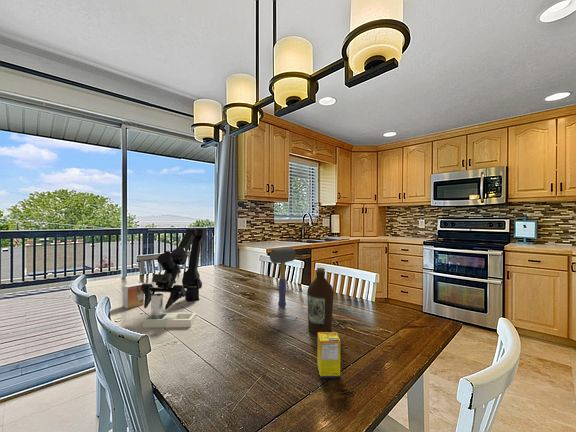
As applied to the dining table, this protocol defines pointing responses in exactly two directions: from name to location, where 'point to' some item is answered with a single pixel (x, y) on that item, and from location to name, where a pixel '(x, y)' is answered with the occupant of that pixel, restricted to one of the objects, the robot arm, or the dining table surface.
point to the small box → (132, 295)
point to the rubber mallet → (282, 269)
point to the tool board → (170, 320)
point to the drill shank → (157, 306)
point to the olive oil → (320, 304)
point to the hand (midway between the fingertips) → (155, 308)
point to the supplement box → (328, 355)
